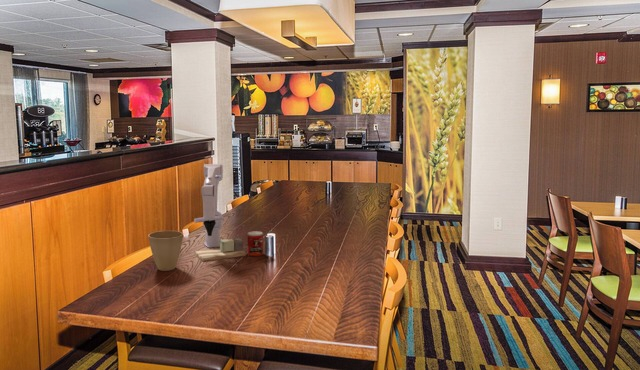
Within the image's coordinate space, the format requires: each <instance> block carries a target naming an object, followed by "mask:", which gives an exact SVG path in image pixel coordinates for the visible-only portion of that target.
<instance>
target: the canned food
mask: <svg viewBox="0 0 640 370" xmlns="http://www.w3.org/2000/svg"><path fill="white" fill-rule="evenodd" d="M246 237H247V239H246V240H247V255H248V256H250V257H260V256H262V255H263V254H264V234H263V231H259V230H258V231H257V230H255V231H254V230H253V231H249V232H247V235H246Z"/></svg>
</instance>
